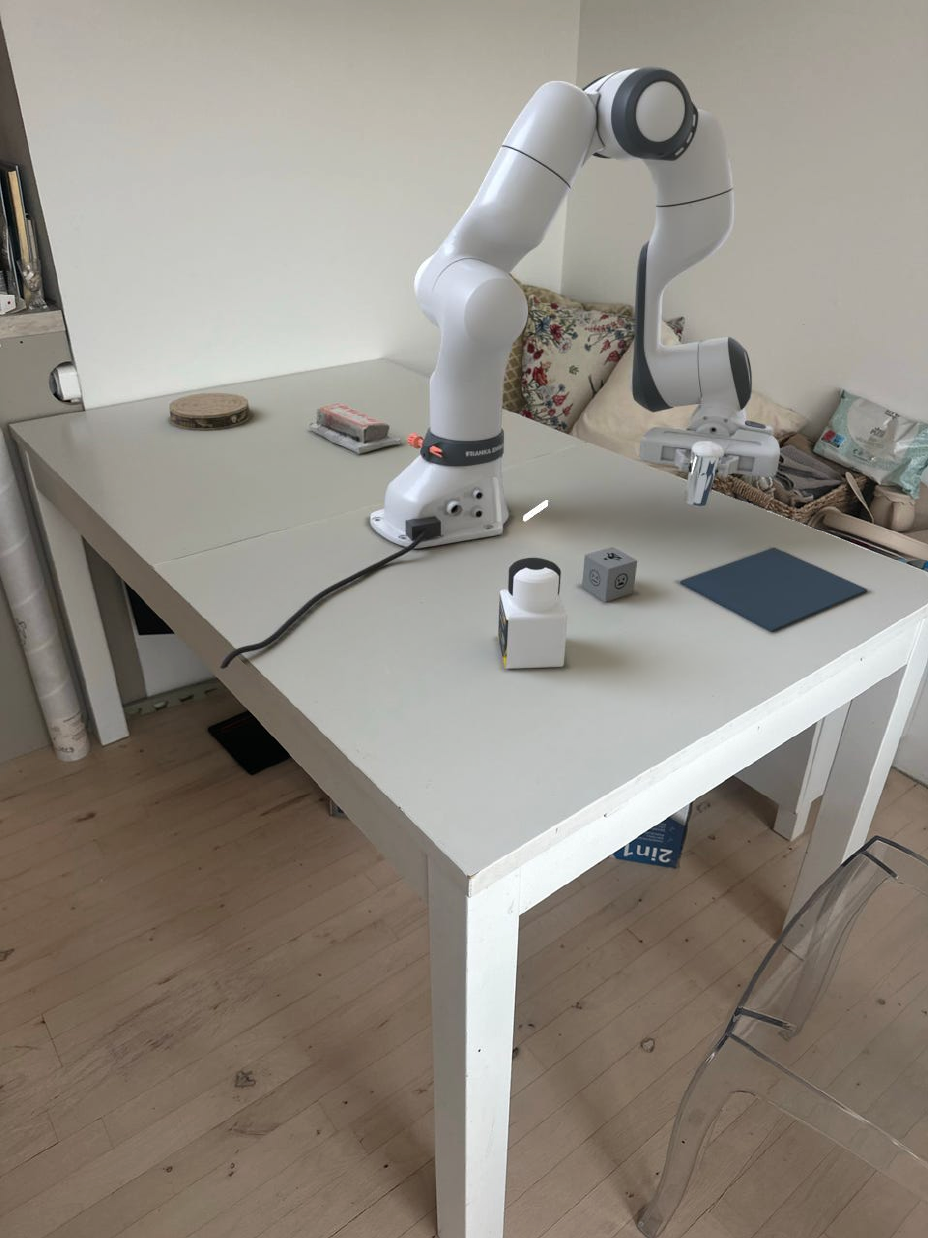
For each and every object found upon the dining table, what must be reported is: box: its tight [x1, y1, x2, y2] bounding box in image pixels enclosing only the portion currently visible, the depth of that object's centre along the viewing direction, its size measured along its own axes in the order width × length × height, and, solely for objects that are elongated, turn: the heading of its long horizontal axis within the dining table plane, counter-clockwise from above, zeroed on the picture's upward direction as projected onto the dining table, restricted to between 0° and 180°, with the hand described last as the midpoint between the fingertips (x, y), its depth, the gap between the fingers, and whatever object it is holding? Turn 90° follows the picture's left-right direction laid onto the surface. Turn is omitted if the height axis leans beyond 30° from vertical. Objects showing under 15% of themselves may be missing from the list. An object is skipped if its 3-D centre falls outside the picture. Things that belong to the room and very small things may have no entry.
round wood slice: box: [168, 392, 251, 431], centre depth 188 cm, size 16×16×3 cm
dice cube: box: [581, 546, 638, 603], centre depth 124 cm, size 5×5×5 cm
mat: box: [679, 547, 868, 633], centre depth 127 cm, size 20×16×1 cm
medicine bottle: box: [497, 557, 569, 670], centre depth 108 cm, size 7×7×12 cm
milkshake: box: [684, 440, 733, 507], centre depth 131 cm, size 4×5×10 cm
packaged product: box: [309, 403, 402, 455], centre depth 178 cm, size 18×5×10 cm
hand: (703, 469), depth 130 cm, fingers closed on milkshake, 4 cm apart
